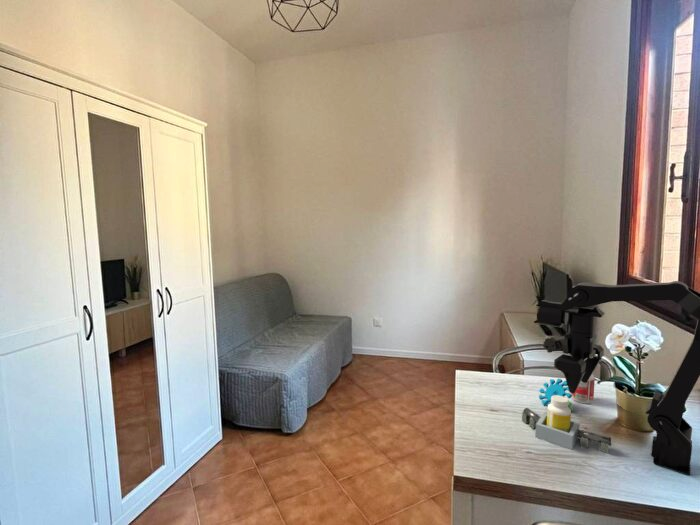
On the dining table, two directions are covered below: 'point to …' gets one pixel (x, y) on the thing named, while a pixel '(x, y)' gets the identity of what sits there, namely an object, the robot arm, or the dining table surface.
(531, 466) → the dining table surface
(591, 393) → the pill bottle
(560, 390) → the gear
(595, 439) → the shaft
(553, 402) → the supplement bottle
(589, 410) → the dining table surface
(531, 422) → the shaft
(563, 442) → the housing
